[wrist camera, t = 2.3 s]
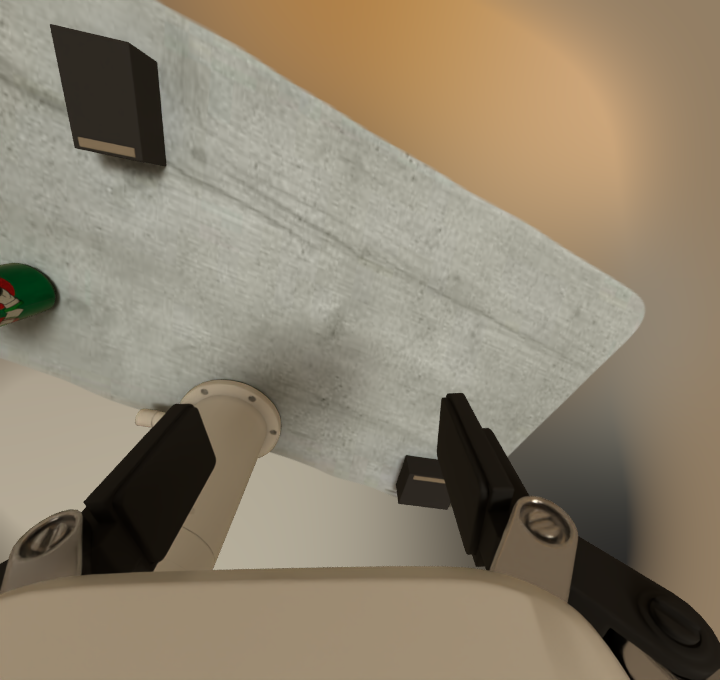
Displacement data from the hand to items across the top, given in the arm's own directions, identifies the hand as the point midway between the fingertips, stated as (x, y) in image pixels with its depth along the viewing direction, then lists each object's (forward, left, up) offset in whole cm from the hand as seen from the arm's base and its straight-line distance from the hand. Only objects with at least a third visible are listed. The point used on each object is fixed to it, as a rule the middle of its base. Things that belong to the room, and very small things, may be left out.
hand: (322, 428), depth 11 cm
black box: (-20, +11, -21) cm, 30 cm away
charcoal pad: (+15, -25, -20) cm, 36 cm away
